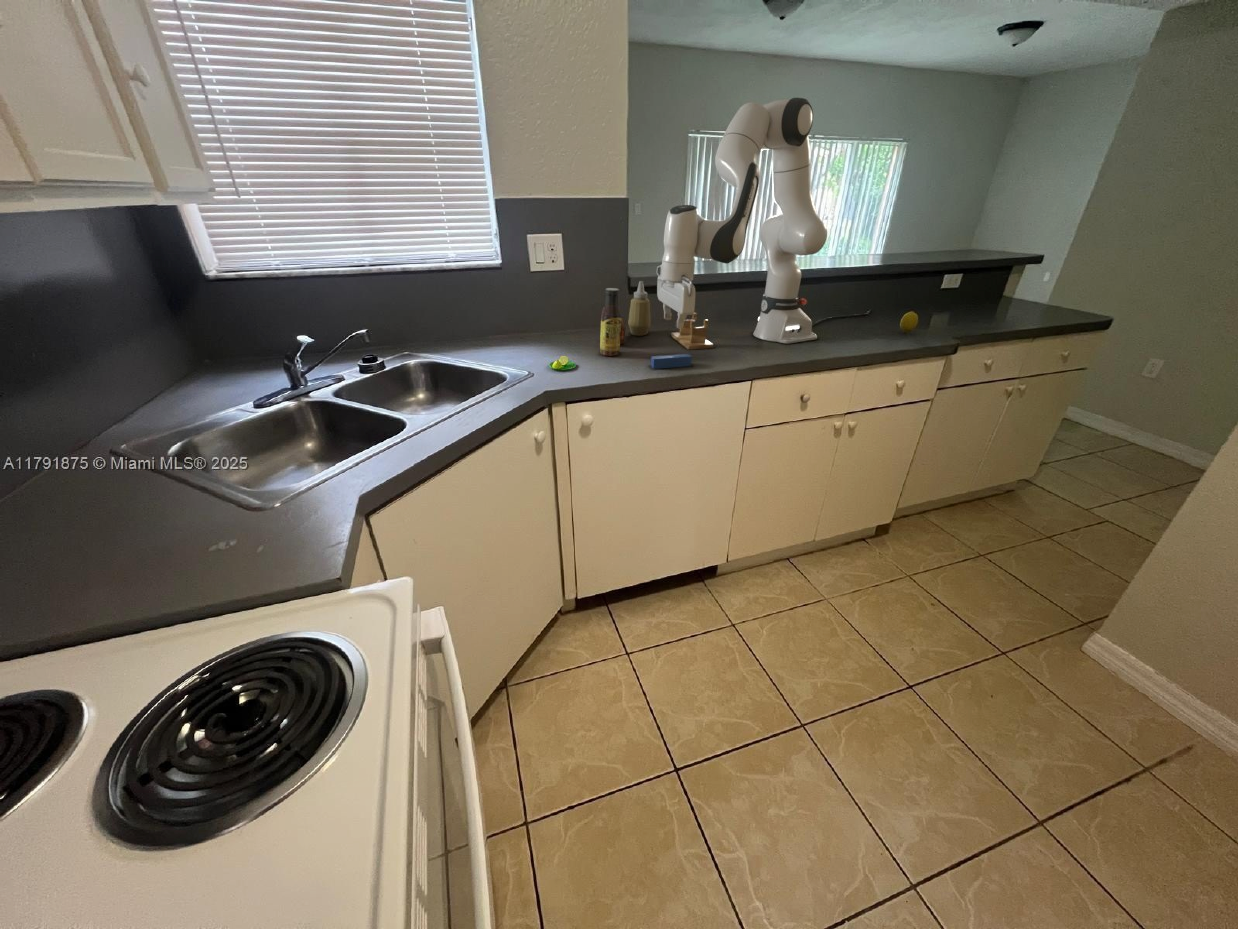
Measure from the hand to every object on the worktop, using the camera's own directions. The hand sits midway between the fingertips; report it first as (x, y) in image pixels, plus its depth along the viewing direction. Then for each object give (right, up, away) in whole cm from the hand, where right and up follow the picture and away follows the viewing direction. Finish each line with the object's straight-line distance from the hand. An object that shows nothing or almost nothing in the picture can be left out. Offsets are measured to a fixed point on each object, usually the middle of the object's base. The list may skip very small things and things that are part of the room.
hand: (673, 323), depth 140 cm
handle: (0, -11, +7) cm, 13 cm away
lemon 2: (-32, -12, +4) cm, 35 cm away
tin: (-17, +2, +27) cm, 32 cm away
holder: (+10, +2, +29) cm, 30 cm away
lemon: (+93, +9, +44) cm, 103 cm away
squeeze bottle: (-8, +6, +36) cm, 37 cm away
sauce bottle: (-18, -5, +15) cm, 25 cm away
